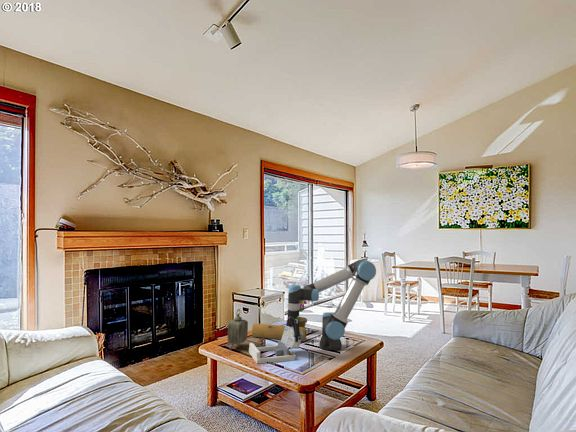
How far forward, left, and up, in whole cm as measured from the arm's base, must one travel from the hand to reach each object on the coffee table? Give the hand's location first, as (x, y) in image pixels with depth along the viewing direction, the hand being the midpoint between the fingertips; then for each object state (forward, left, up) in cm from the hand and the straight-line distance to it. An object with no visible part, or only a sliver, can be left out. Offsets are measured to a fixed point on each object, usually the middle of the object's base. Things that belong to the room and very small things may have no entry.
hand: (292, 343), depth 224 cm
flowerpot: (-21, -42, -6) cm, 47 cm away
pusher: (+8, 0, -6) cm, 10 cm away
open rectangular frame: (+14, 0, -6) cm, 15 cm away
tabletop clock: (+31, -20, -6) cm, 37 cm away
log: (-2, -32, -7) cm, 32 cm away
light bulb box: (+2, 0, -1) cm, 2 cm away
